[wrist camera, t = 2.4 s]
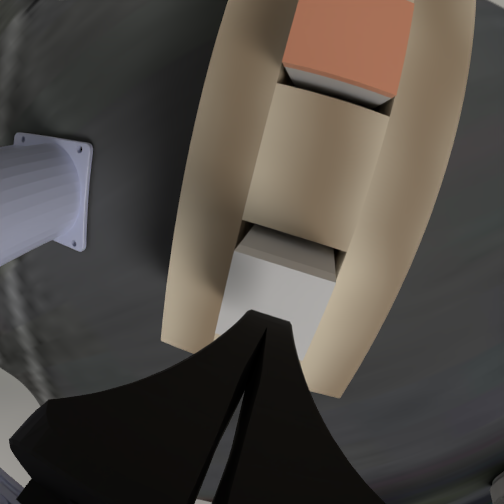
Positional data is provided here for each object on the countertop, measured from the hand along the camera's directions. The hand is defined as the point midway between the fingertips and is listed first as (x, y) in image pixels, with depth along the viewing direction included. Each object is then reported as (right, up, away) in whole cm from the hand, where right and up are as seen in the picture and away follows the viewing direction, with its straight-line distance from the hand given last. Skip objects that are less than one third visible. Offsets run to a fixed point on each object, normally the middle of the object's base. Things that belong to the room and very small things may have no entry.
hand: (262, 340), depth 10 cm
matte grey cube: (+1, +2, +6) cm, 7 cm away
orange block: (+4, +11, +2) cm, 12 cm away
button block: (+3, +8, +6) cm, 10 cm away
